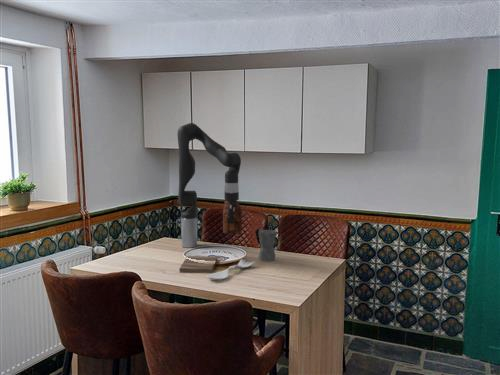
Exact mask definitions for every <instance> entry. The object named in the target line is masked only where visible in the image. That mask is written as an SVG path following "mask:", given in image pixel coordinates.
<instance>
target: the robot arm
mask: <svg viewBox="0 0 500 375" xmlns="http://www.w3.org/2000/svg"><path fill="white" fill-rule="evenodd" d="M176 135H177V144H178V145H177V146H178V180H179V181H178V193H177V195H178V196H177V200H178V201H177V202H178V206H180V207H190V208H188V209H187V210H185V211H183V212H181V213H180V220H181V221H180V223H181V225H180V226H181V228H180V229H181V233H180V235H181V247H182V248H196V247H197V246H198V218H197V217H198V215H197V214H198V213H197V207H198V206H197V205H198V204H197V203H198V195H197V194H198V193H197V191H196V190H186V188H187V185H188V183H189V182H190V181H191V180H192V178H193V177H194V176H195V173H196V161H195V158H194V157H193V155H192V154H191V152H190V142H191V141H194V140H197V141H199V142H201V143H202V145H203V147H204V149H205V150H206V152H207V153H208V154H210V155H211V156H212V157H214V158H216V159H217V161H219V163H220V164H221V165H222V166H225V167H227V168H228V170H227V171H225V173H224V189H223V190H224V192H223V193H224V201H229V205H228V216H229V223H230V224H233V216H234V215H233V214H234V212H235V207H234V209H233V202H234V201H237V202H238V201H239V200H240V197H239V195H240V194H239V193H240V192H239V190H240V187H239V173H240V169H241V163H242V159H241V156H240V154H238V153H237V152H227V148H226V147H224V146H223V145H222V144H220V143H219V142H217V141H215V140H214V139H212V138H211V137H210V136H209V135H208V134H207V133H206V132H205V131H204V130H202V129H201V128H200V126H198V125H197V124H195V123H193V122H189V123H186V124H184V125H181V126H179V127H178V128H177V134H176ZM230 213H232V214H230Z"/></svg>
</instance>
